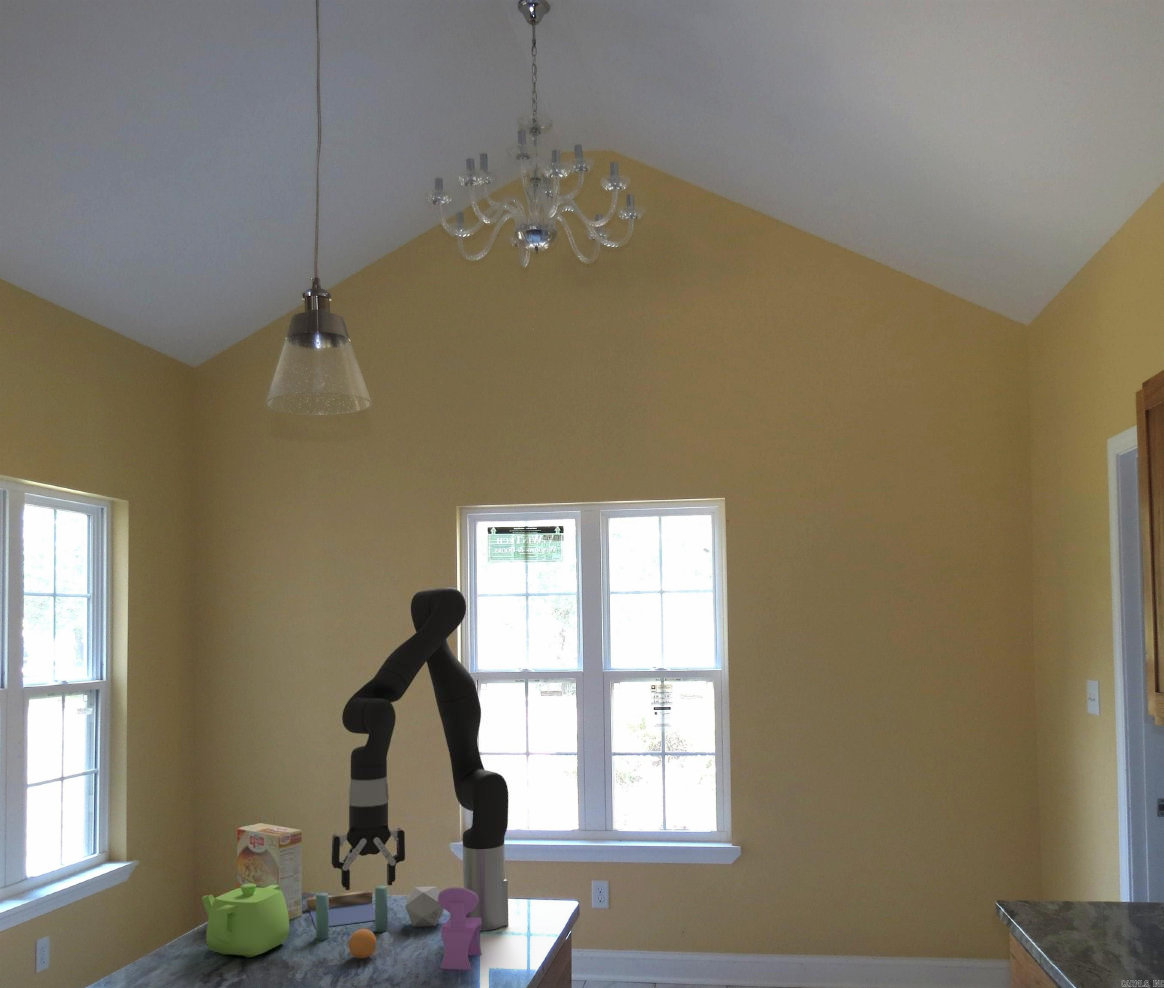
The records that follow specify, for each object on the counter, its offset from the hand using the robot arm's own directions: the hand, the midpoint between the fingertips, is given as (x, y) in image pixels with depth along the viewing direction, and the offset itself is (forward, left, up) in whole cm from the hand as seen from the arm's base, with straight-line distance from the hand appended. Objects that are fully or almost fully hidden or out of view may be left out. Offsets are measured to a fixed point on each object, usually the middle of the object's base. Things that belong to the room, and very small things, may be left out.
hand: (368, 886), depth 201 cm
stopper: (0, -47, -16) cm, 50 cm away
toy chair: (-18, +1, -17) cm, 25 cm away
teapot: (+23, -26, -17) cm, 39 cm away
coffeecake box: (+16, -47, -17) cm, 53 cm away
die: (-16, -25, -17) cm, 34 cm away
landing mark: (0, -39, -16) cm, 43 cm away
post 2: (-7, -25, -16) cm, 31 cm away
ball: (0, -9, -14) cm, 16 cm away
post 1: (+6, -25, -16) cm, 31 cm away
